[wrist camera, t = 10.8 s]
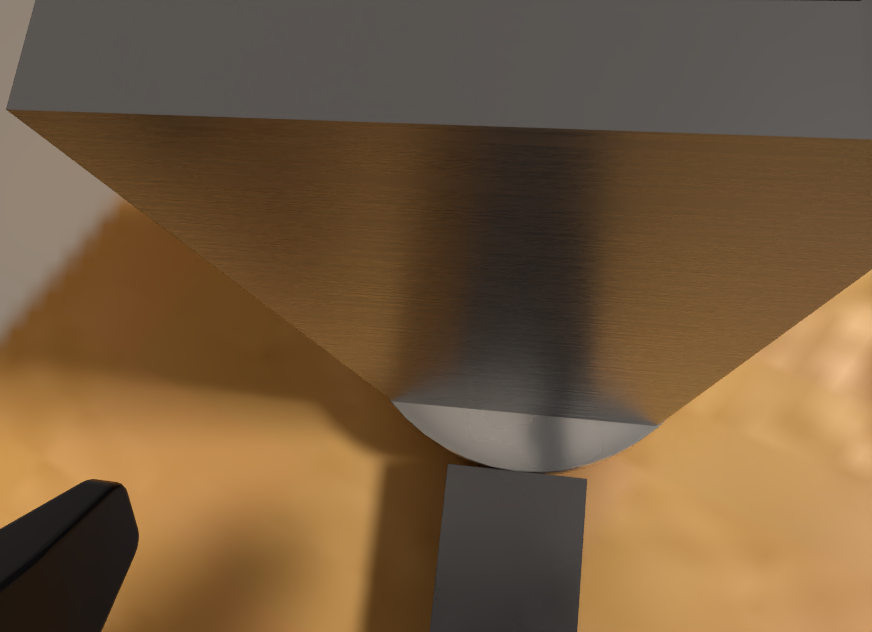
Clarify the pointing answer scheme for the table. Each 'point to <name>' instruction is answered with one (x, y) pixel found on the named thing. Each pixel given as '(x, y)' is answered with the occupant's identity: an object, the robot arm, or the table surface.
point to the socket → (488, 176)
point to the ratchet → (513, 515)
